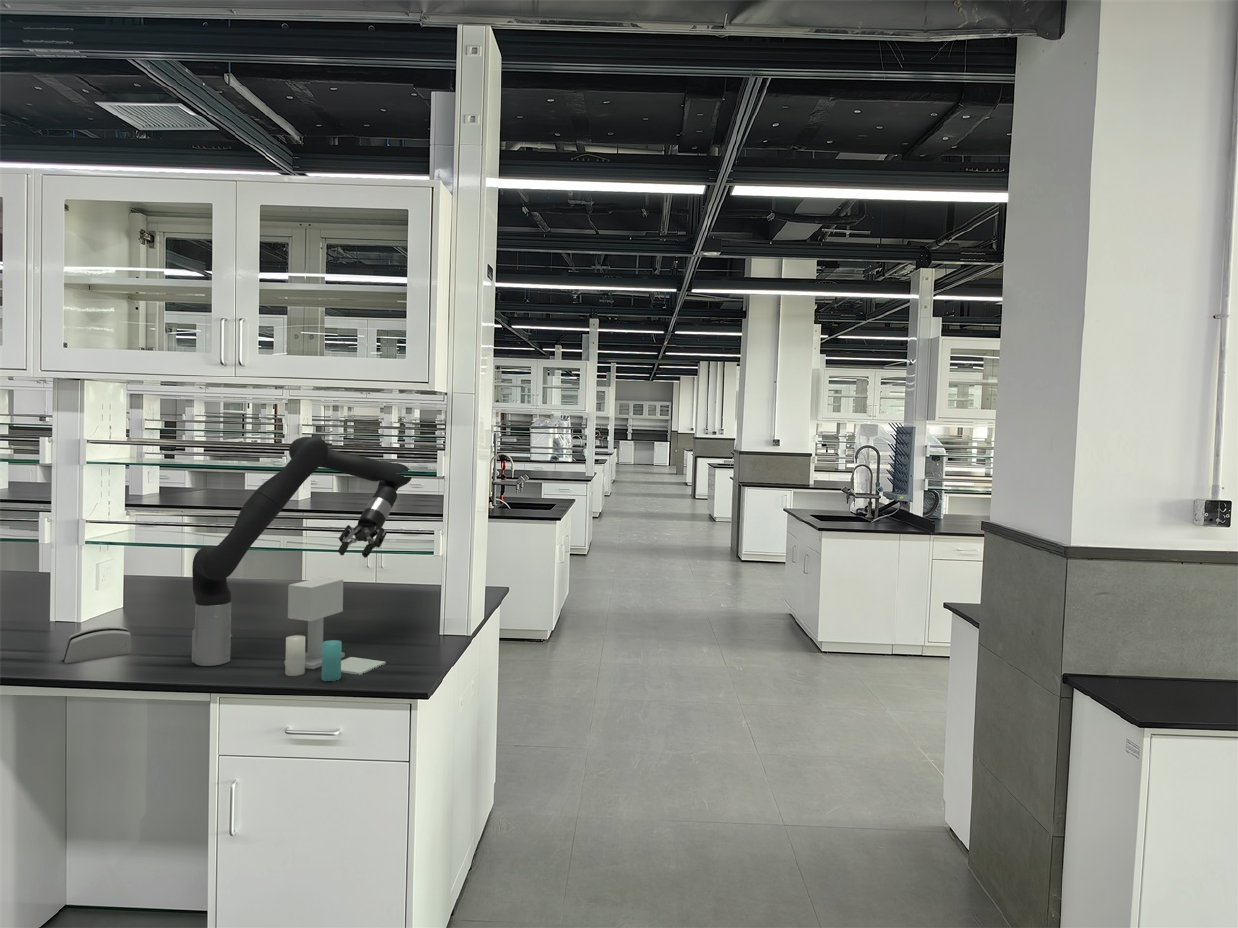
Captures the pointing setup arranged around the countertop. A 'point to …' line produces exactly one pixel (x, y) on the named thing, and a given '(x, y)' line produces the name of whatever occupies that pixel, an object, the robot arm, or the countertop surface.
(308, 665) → the mounted unit
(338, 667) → the teal part
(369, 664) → the mat
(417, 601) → the countertop surface
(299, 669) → the cream part
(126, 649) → the grey curved piece
